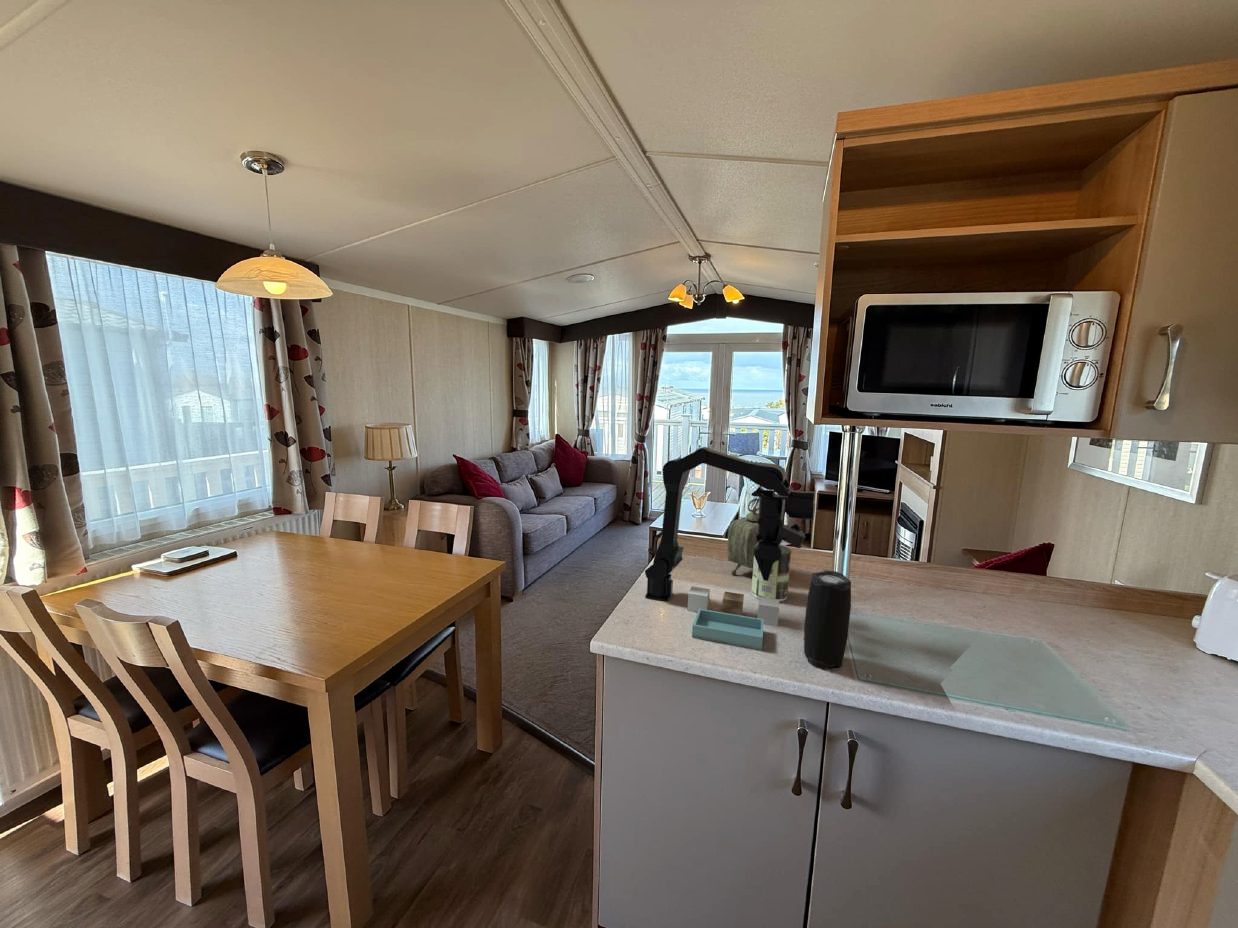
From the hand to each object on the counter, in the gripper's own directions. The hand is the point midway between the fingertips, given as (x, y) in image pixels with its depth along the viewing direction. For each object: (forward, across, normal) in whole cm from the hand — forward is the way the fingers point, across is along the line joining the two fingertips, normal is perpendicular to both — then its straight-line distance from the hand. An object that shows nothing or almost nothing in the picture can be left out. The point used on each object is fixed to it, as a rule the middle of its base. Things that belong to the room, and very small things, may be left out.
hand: (766, 573), depth 124 cm
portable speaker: (+13, -16, -13) cm, 24 cm away
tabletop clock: (+12, +32, +5) cm, 35 cm away
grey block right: (+12, 0, -1) cm, 12 cm away
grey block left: (+12, 0, +17) cm, 21 cm away
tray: (+12, -11, +8) cm, 18 cm away
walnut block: (+12, 0, +8) cm, 15 cm away
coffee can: (+12, +17, -1) cm, 21 cm away
